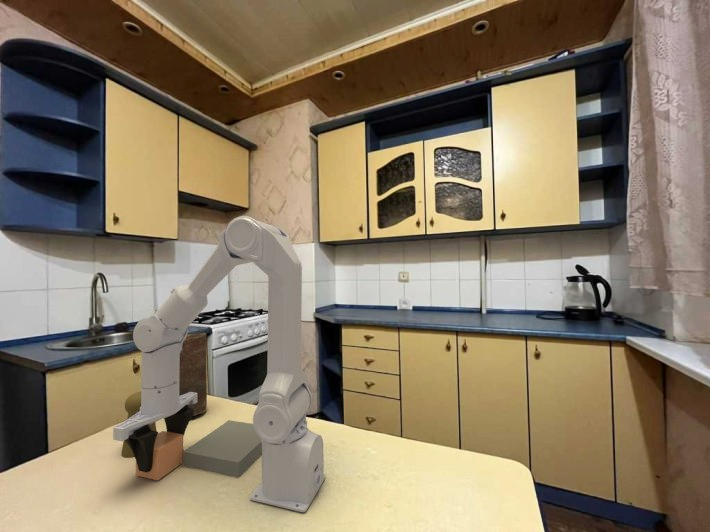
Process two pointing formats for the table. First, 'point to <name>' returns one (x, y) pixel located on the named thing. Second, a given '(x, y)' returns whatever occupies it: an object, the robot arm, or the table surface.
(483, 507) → the table surface
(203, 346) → the candle
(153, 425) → the cork
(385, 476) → the table surface
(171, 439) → the terracotta cube
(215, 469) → the grey square plate
